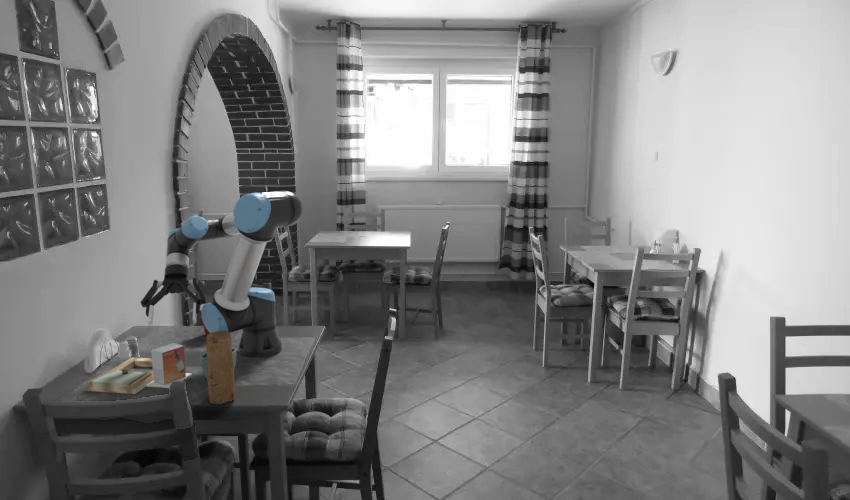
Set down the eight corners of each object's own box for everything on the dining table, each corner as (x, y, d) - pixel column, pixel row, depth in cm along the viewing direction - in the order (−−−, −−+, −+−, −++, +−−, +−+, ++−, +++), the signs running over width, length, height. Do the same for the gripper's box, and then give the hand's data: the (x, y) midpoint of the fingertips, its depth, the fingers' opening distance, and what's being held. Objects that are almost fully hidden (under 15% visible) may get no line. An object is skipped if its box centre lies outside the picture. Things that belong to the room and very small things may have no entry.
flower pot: (212, 374, 190) (210, 347, 188) (238, 374, 189) (237, 348, 188) (201, 384, 181) (199, 357, 179) (229, 385, 181) (227, 358, 179)
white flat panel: (191, 374, 189) (191, 373, 189) (173, 388, 178) (173, 387, 178) (166, 372, 190) (165, 371, 190) (146, 386, 179) (145, 385, 179)
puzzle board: (176, 365, 197) (175, 353, 196) (135, 393, 174) (133, 380, 173) (132, 363, 198) (131, 351, 198) (86, 390, 176) (84, 377, 175)
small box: (164, 385, 179) (161, 352, 178) (153, 381, 182) (150, 349, 180) (186, 376, 186) (184, 345, 184) (175, 373, 189) (173, 342, 187)
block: (236, 404, 168) (232, 337, 164) (208, 407, 165) (204, 340, 162) (234, 389, 178) (231, 326, 174) (208, 392, 175) (204, 329, 172)
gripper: (216, 273, 208) (213, 325, 197) (140, 276, 202) (133, 331, 191) (213, 261, 202) (211, 315, 191) (135, 264, 196) (128, 320, 185)
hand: (172, 323), depth 191 cm, fingers open, 13 cm apart
